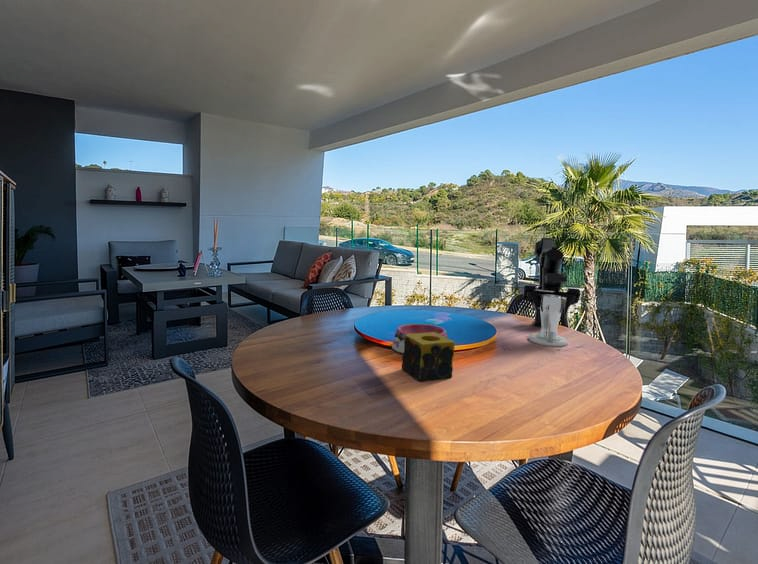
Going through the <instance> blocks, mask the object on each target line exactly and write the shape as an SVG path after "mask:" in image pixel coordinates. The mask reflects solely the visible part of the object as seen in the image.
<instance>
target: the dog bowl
mask: <svg viewBox="0 0 758 564" xmlns="http://www.w3.org/2000/svg"><path fill="white" fill-rule="evenodd" d="M430 332H436V333H438V334H440V335H442V336H444V337H446V338H448V334H447V331H446V329H444V328H443V327H441V326H438V325H433V324H427V323H409V324H408V323H407V324H402V325H400V326H398V327H397V328H396V332H395V335H394V339H393V342H392V345H391V350H392V351H393V352H394V353H396V354H398V355H401V356H403V353H404V334H414V333H430Z"/></svg>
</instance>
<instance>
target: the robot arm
mask: <svg viewBox="0 0 758 564" xmlns="http://www.w3.org/2000/svg"><path fill="white" fill-rule="evenodd" d="M533 254H534V255H535V261H536V262H537V263H538V264H539V265H538V273H539V274H538V286H537V287H536V285H533V284H532V285H531V284H530V285H529V284H525V285H524V286H523V290H522V291H523V292H522V299H523V300H526V302H529V304H530V305H531V309H532V311H535V313H534V321H532V325H533V326H536V327H541V314H540V307H541V300H542V295H543V294H553V295H559V296H562V299H565V303H564V311H563V314H564V316H566V315H567V313H568V310H569V308H570V306H573V305H575V304H579V300H580V297H581V293H582V292H581V290H580V289H579V288H573V287H568V288H567V290H566V291H560V290H561V288H562V284H566V283H567V281H568V274H567V272H561V273H560V269H561V266H562V264H563V262H565V258H564V253H563V252H562V251H561V250H560V249H558V247H557V243H556V242H555V240H554V238H553V237H542V238H541V239H540V240H538V241H537V242H535V244H534V249H533Z"/></svg>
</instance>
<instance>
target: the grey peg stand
mask: <svg viewBox="0 0 758 564" xmlns="http://www.w3.org/2000/svg"><path fill="white" fill-rule="evenodd" d="M553 333H554V332H551V331H549V332H548V339H544V338H541V337H540V336H539V334H540V332H535V333H533V332H532V333H529V335H528V340H529V341H530V342H531V343H534V344H538V345H542V346H546V347H559V348H560V347H566V346H568V345H569V339H568V338H566V337H564V336H561V335H558V338H557V339H554V340H553Z"/></svg>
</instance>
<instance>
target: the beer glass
mask: <svg viewBox="0 0 758 564" xmlns="http://www.w3.org/2000/svg"><path fill="white" fill-rule="evenodd" d="M562 309H563V298H562V296H559V295H553V294H543V295H542V300H541V307H540V314H541V326H540V332H539V333H540V334H539V336H540V337H541V338H544V339H548V332H549V331H551V332H554V333H553V340H554V339H557V338H558V336H559V335H558V326H559V322H560V319H561V315H562Z"/></svg>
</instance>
